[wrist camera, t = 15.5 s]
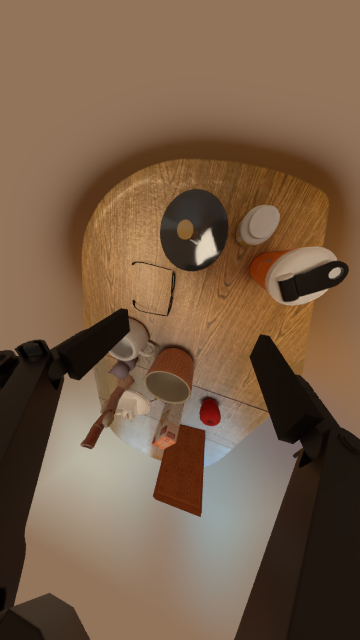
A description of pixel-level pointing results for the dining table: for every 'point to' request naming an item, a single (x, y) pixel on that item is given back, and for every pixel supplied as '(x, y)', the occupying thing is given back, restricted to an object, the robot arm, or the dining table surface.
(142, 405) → the dish
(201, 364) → the dining table surface
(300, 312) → the dining table surface
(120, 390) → the vase
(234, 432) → the dining table surface
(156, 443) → the cracker box
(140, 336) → the mug
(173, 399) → the planter
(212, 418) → the apple
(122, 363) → the cat figurine
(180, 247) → the lid
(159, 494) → the book
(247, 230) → the pill bottle
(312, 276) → the shaker bottle
